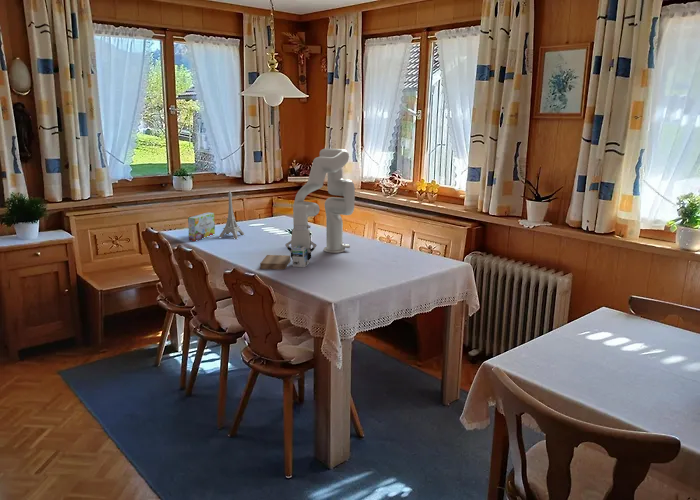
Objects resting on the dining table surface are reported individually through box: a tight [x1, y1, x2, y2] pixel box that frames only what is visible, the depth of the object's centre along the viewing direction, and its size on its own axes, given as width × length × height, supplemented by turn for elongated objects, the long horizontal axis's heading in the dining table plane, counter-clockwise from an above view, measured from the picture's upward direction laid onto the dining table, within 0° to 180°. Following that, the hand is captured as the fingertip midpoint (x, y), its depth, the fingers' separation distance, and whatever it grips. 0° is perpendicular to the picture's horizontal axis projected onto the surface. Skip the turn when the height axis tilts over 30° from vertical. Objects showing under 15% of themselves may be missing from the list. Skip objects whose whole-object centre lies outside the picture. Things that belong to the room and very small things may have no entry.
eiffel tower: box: [218, 190, 245, 240], centre depth 359 cm, size 13×13×30 cm
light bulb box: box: [291, 246, 310, 268], centre depth 298 cm, size 11×7×11 cm, turn 168°
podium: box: [259, 254, 292, 270], centre depth 298 cm, size 13×17×3 cm
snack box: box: [187, 211, 216, 242], centre depth 356 cm, size 21×6×15 cm, turn 159°
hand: (301, 259), depth 299 cm, fingers open, 8 cm apart
